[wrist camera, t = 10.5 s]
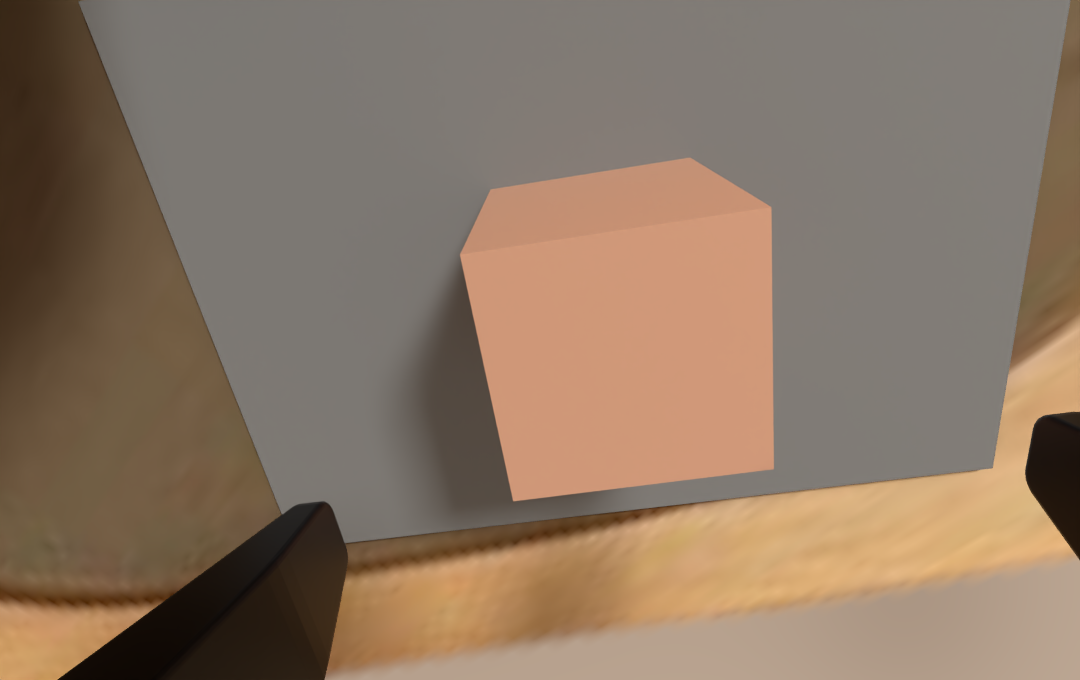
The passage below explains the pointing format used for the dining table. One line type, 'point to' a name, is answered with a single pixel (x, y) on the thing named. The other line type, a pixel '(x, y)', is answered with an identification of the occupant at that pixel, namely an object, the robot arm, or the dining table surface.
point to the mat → (576, 149)
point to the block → (625, 327)
